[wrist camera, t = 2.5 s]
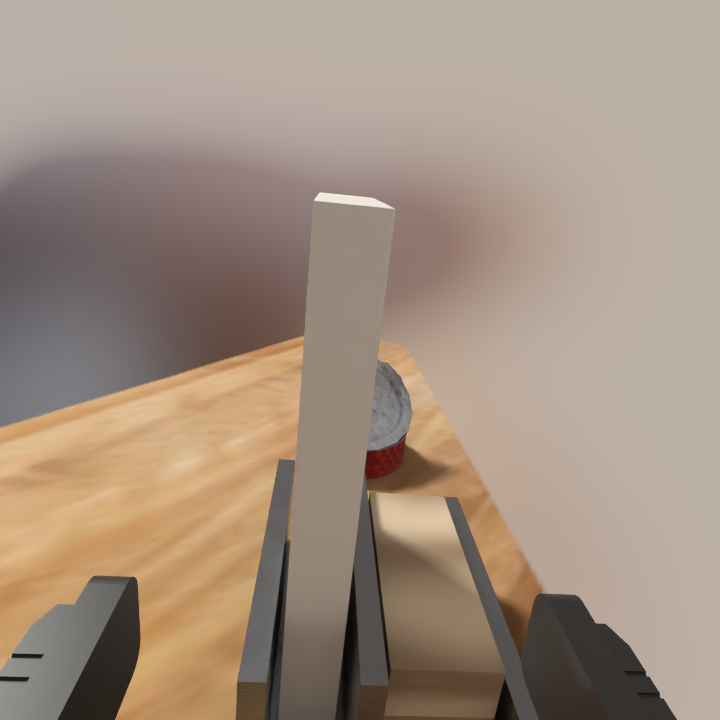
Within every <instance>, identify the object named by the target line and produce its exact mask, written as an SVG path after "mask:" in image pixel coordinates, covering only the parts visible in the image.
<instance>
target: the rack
mask: <svg viewBox="0 0 720 720" xmlns="http://www.w3.org/2000/svg"><path fill="white" fill-rule="evenodd" d="M294 472H295V460H282V459H279V462H278V468H277V473H276V478H275V484H274V489H273V494H272V500H271V505H270V510H269V516H268V521H267V526H266V532H265V537H264V542H263V548H262V553H261V558H260V564H259V569H258V574H257V580H256V585H255V590H254V596H253V601H252V606H251V611H250V617H249V622H248V627H247V633H246V638H245V643H244V649H243V654H242V659H241V665H240V670H239V675H238V681H237V708H236V720H278V714H279V699H280V684H281V670H282V655H283V641H284V626H285V611H286V597H287V582H288V568H289V553H290V531H291V516H292V501H293V487H294ZM444 498H445V501H446V504H447V506H448V509H449V512H450V515H451V518H452V521H453V524H454V526H455V529H456V532H457V535H458V538H459V541H460V543H461V546H462V549H463V552H464V555H465V558H466V561H467V563H468V566H469V569H470V572H471V575H472V578H473V580H474V583H475V586H476V589H477V592H478V595H479V598H480V600H481V603H482V606H483V609H484V612H485V615H486V617H487V620H488V623H489V626H490V629H491V632H492V635H493V637H494V640H495V643H496V646H497V649H498V652H499V654H500V657H501V660H502V663H503V666H504V669H505V672H506V674H505V678H504V682H503V686H502V690H501V694H500V698H499V702H498V705H497V709H496V713H495V717H494V720H539V718H538V716H537V713H536V710H535V708H534V705H533V703H532V700H531V698H530V695H529V692H528V690H527V687H526V684H525V681H524V677H523V672H522V661H521V659H520V656H519V653H518V651H517V648H516V646H515V643H514V641H513V638H512V636H511V633H510V631H509V628H508V625H507V623H506V620H505V618H504V615H503V613H502V610H501V608H500V605H499V602H498V600H497V597H496V595H495V592H494V590H493V587H492V585H491V582H490V579H489V577H488V574H487V572H486V569H485V567H484V564H483V562H482V559H481V557H480V554H479V551H478V549H477V546H476V544H475V541H474V539H473V536H472V534H471V531H470V528H469V526H468V523H467V521H466V518H465V516H464V513H463V511H462V508H461V506H460V503H459V500H458V498H457V497H444ZM388 689H389V681H388V672H387V664H386V655H385V646H384V637H383V628H382V619H381V610H380V601H379V592H378V583H377V574H376V566H375V557H374V548H373V539H372V530H371V521H370V512H369V503H368V494H367V485H366V477H365V470H364V479H363V487H362V496H361V504H360V513H359V521H358V530H357V538H356V546H355V555H354V563H353V572H352V580H351V589H350V597H349V605H348V614H347V622H346V631H345V639H344V648H343V656H342V665H341V673H340V681H339V690H338V698H337V707H336V715H335V720H384V714H385V708H386V701H387V695H388Z"/></svg>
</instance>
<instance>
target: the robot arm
mask: <svg viewBox="0 0 720 720" xmlns="http://www.w3.org/2000/svg"><path fill="white" fill-rule="evenodd" d="M139 648H140V621H139V602H138V584H137V580H136V578H135V577H119V576H93V577H92V578H91V579H90V580H89V582H88V583H87V585H86V586H85V588H84V590H83V591H82V593H81V595H80V596H79V598H78V600H77V601H76V603H75V604H74V605H65V604H57V605H56V606H55V607H54V608H53V609H51V610H50V611H49V612H48V613H46V614H45V615H44V616H43V617H42V618H40V619H39V620H38V621H37V622H35V623H34V624H33V625H32V626H31V627H30V628H29V630H28V631H27V633H26V634H25V635H24V637H23V638H22V640H21V641H20V643H19V644H18V646H17V647H16V649H15V650H14V652H13V653H12V657H11V659H8V660H7V662H6V663H5V665H4V666H3V668H2V669H1V671H0V720H115V718H116V715H117V713H118V710H119V708H120V706H121V703H122V701H123V698H124V696H125V693H126V691H127V688H128V686H129V683H130V681H131V678H132V676H133V673H134V670H135V667H136V663H137V659H138V654H139ZM521 661H522V672H523V677H524V681H525V684H526V687H527V690H528V692H529V695H530V698H531V700H532V703H533V705H534V708H535V710H536V713H537V716H538V718H539V720H677V719H676V718H675V716H674V715H673V713H672V711H671V710H670V708H669V707H668V705H667V704H666V702H665V700H664V699H661V698H660V693H659V691H658V690H657V688H656V687H655V685H654V684H653V682H652V681H651V679H650V677H647V676H646V671H645V670H644V668H643V667H642V665H641V663H640V662H639V660H638V659H637V657H636V656H635V654H634V652H633V651H632V649H631V648H630V646H629V645H628V644H627V643H625V642H624V641H623V640H622V639H621V638H620V637H619V636H618V635H617V634H616V633H615V632H613V630H612V629H610V628H609V627H608V626H607V625H606V624H596V623H595V622H594V620H593V618H592V617H591V615H590V614H589V612H588V610H587V608H586V607H585V605H584V603H583V602H582V600H581V599H580V598H579V597H578V596H576V595H563V594H538V595H537V596H536V598H535V600H534V604H533V608H532V612H531V616H530V620H529V624H528V628H527V632H526V636H525V640H524V644H523V648H522V657H521Z"/></svg>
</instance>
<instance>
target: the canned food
mask: <svg viewBox="0 0 720 720" xmlns="http://www.w3.org/2000/svg"><path fill="white" fill-rule="evenodd" d="M411 417H412V408H411V404H410V396H409V393H408V392H407V390H406V388H405V386H404V384H403V382H402V379H401V377H400V376H399V375H398V374H397V373H396V371H395V370H394V369H393V368H392V367H391V366H390V365H389V364H388V363H386V362H382V361H379V360H378V361H377V369H376V378H375V386H374V395H373V403H372V411H371V420H370V428H369V437H368V445H367V454H366V462H365V477H366V479H373V478H378V477H382V476H385V475H387V474H390V473H392V472H393V471H395V470H396V469H398V467H399V466H400V465H401V463H402V460H403V453H404V446H405V439H406V434H407V431H408V430H409V425H410V421H411Z"/></svg>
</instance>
